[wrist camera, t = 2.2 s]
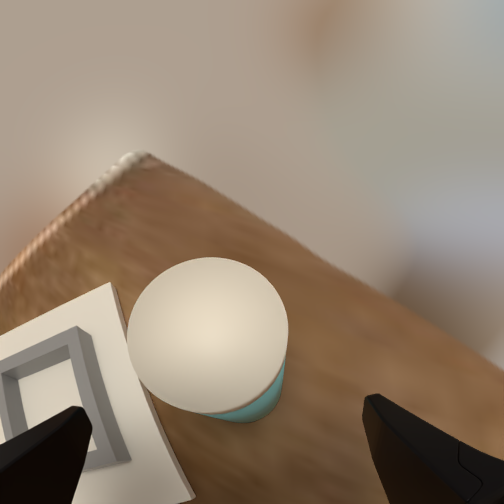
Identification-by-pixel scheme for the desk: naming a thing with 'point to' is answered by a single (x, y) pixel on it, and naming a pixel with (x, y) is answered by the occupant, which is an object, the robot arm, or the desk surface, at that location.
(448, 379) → the desk surface
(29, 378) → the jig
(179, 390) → the teal cylinder white cap
